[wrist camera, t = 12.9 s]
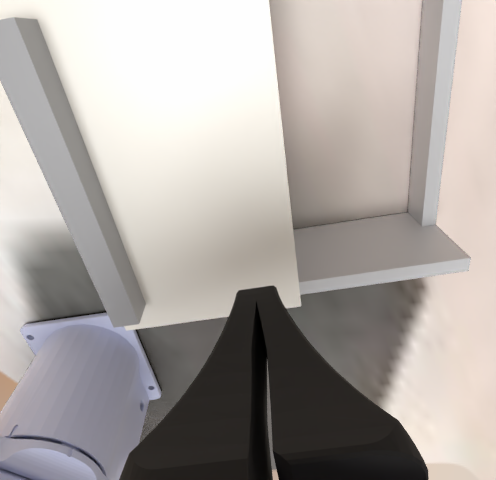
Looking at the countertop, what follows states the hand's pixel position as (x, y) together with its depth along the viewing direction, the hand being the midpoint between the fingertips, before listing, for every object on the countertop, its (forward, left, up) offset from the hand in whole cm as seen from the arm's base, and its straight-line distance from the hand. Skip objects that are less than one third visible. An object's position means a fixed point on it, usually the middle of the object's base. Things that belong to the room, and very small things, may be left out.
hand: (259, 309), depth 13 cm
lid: (+4, +3, -4) cm, 7 cm away
